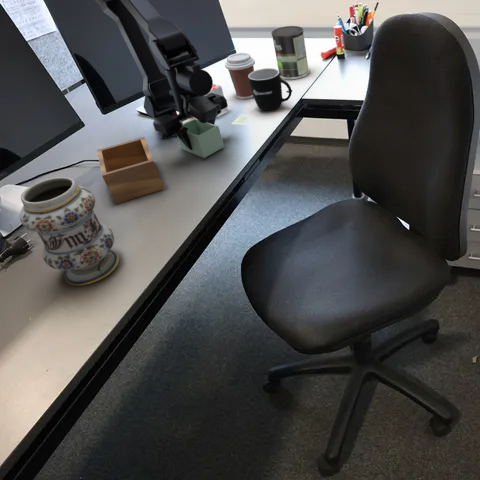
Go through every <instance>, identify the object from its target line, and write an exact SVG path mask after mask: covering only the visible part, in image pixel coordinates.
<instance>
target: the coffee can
mask: <svg viewBox="0 0 480 480" xmlns="http://www.w3.org/2000/svg"><path fill="white" fill-rule="evenodd" d="M270 33H271V36H272V42H273V48H274V53H275V58H276V63H277V70H278V71H279V73H280V78H281V79H282V80H298V79H302V78H305V77H306V76H308V75H309V74H310V71H309V63H308V57H307V50H306V41H305V35H304V27H302V26H297V25H286V26H280V27H278V28H275V29H273V30H272V31H271V32H270Z"/></svg>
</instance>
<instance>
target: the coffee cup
mask: <svg viewBox="0 0 480 480" xmlns="http://www.w3.org/2000/svg"><path fill="white" fill-rule="evenodd" d="M255 64H256V60H255V58H254V57H251V54H250V53H249V52H236V53H233V54H230V55H228V56H227V57H226V61H225V63H224V67H225V69H226V70H228V73H229V77H230V80H231V82H232V85H233V88H234V92H235V94H236V96H237V98H238V99H241V100H246V99H247V100H248V99H251V98H254V96H253V93H252V90H251V86H250V83H249V78H248V75H249V74H250V73H251V72H253V71H255V68H254V65H255Z"/></svg>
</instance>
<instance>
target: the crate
mask: <svg viewBox="0 0 480 480" xmlns="http://www.w3.org/2000/svg"><path fill="white" fill-rule="evenodd" d="M96 153H97V158H98V162H99V168H100V173H101V177H102V179H103V181H104V183H105V185H106V187H107V189H108V191H109V193H110V195H111V198H112V200H113V202H114V203H115V205H117V204H120V203H123V202H126V201H130V200H133V199H136V198H139V197H142V196H143V197H144V196H146V195H149V194H153V193H155V192H158V191H162V190H165V186H164V184H163V183H164V182H163V181H162V179H161V176H160V173H159V171H158V168H157V165H156V163H155V161H154V158H153V155H152V153H151V151H150V148H149V146H148V143H147V141H146V138H145V136H143V137H139V138H135V139H132V140H128V141H125V142H120V143H117V144H114V145H110V146H107V147H106V146H105V147H102V148H99V149H97V150H96Z"/></svg>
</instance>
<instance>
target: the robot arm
mask: <svg viewBox="0 0 480 480" xmlns="http://www.w3.org/2000/svg"><path fill="white" fill-rule="evenodd" d="M94 1H95V3H97V4H98V5H99V7H100V9H101V11H102V12H103V13H104V14H105V15H107V16H108V17H109V18H111V19H112V20H113V21H114V22H115V23H116V26H117V28H118V30H119V31H120V34H121V36H122V38H123V40H124V42H125V44H126V45H127V48H128V50H129V52H130V54H131V56H132V59H133V60H134V62H135V64H136V66H137V68H138V70H139V72H140V74H141V77H142V78H143V79H142V81H143V83H142V93H143V95H144V101H143V109H144V111H145V114H146V115H148V116H149V117H151V118H153V119H154V120H153V123H152V125H153V128H154V131H155V132H158V133H159V135H160V137H161V139H166V138H170V137H174V136H176V137H178V138H179V139H180V140H181V141H182V142H183V143H184V144H185V146H186V147H187V148H188V149H189V150H192V146H191V142H190V140H189V137H188V134H187V130H188V128H186V127H184V126H183V124H184V122H185V121H187V120H189V119H191V118H193V116H194V117H195V118H196V119H198V120H199V122H201V123H207V122H208V123H211V124H214V125H216V119H217V118H218V117H217V116H218V115H219V114H220V113H221V110H222V109H224V108H226V107H227V108H228V107H229V105H228V104H229V103H228V100H227V99H226V97H225V95H224V96H221V95H218V94H214V93H210V94H208V93H209V92H210V91H211V89H212V86H213V84H214V82H213V78H212V75H211V74H210V73H209V72H208V71H206V70H205V69H203V68H202V67H201V65H200V63H195V62H197V61H199V60H200V57H199V55H198V54H197V53H198V51H197V49H196V48H195V46H194V45H193V44H192V42H191V41H190V39H189V38H188V37H187V35H186V33H184V32H183V31H182V30H181V29H180V28H179V26H177V25H176V24H175V22H172V21H170V20H167V19H164V18H163V17H162V16H161V15H160V13H159V12H158V11H157V10H156V9H155V8H154V6H153V5H152V4H151V3H150V2H149V0H94ZM140 26H141V27H140ZM141 28H142V29H143V30H144V32H145V33H146V34H147V36H148V42H147V40H146V38H145V36H144V34H143V32H142V31H143V30H142V29H141ZM154 56H155V57H156V58H157V59H158V61H159V63H160V65H161V66H163V69H164V72H165V74H164V73H163V72H162V71H161V69H160V67H159V65H158V63H157V61H156V59H155V57H154ZM206 94H208V95H206ZM204 95H206V96H204ZM216 117H217V118H216ZM178 138H177V139H178Z"/></svg>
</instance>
